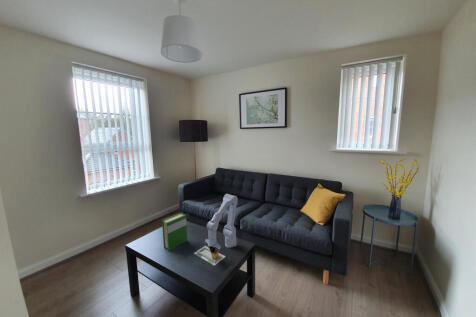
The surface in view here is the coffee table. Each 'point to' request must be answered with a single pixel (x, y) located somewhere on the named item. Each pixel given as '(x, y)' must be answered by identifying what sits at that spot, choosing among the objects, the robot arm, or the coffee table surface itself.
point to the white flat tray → (208, 255)
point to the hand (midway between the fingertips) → (212, 254)
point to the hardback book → (174, 231)
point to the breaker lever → (215, 255)
